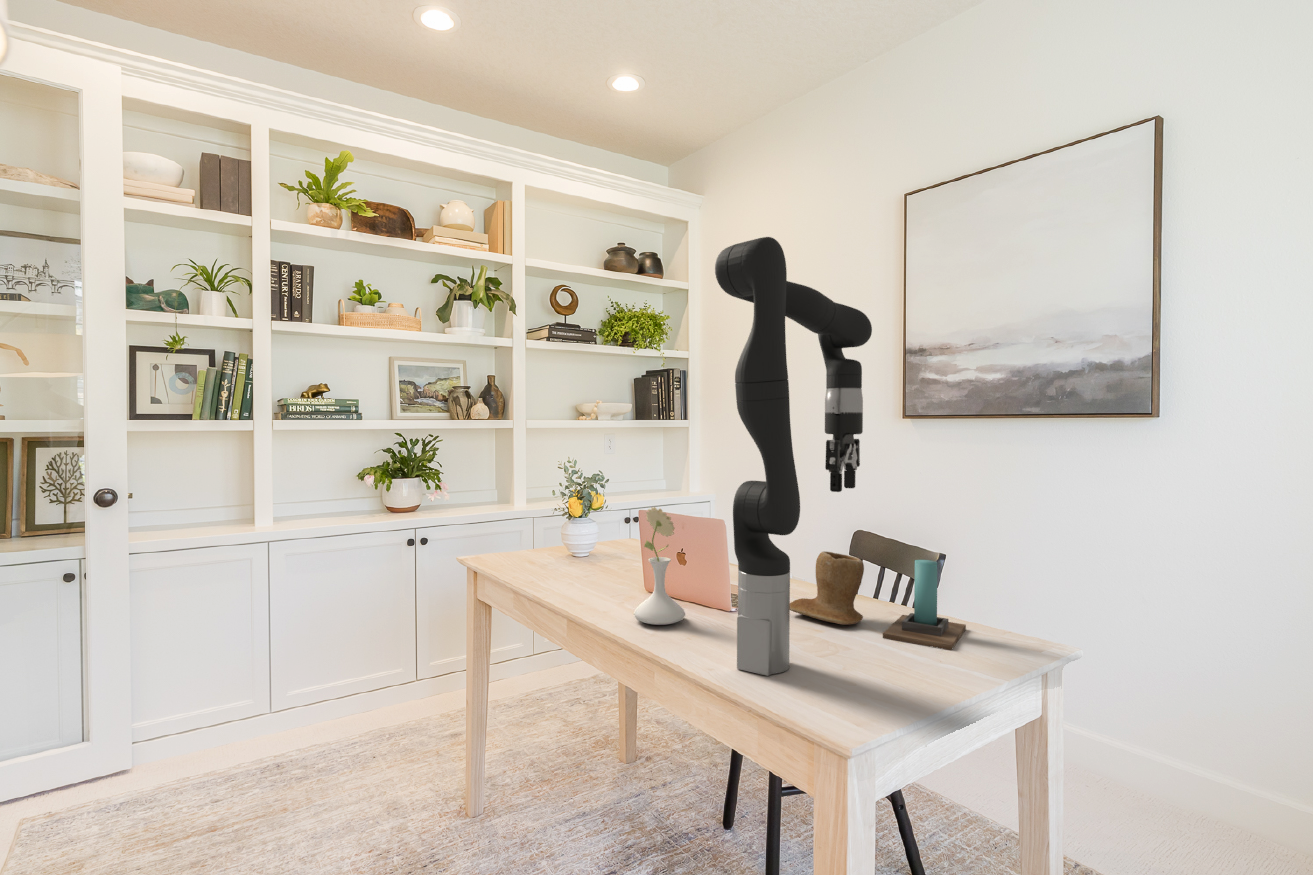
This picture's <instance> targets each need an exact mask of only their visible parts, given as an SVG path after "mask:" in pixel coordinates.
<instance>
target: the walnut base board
mask: <svg viewBox="0 0 1313 875" xmlns="http://www.w3.org/2000/svg"><path fill="white" fill-rule="evenodd" d="M966 628H967V624H965V623H958V622H952V621H949V618H945V617H940V616H937V626H933V625H927V624H921V623H914V612H910V613H909V614H901V615H900V616H899V617H898V618H897V619H896V620H895V621H894V622H893V623H892V624H891V625H890V626H889V627H888V628H886V629H885V630H884V631H883V632H882V639H886V640H891V641H896V642H897V641H898V642H903V643H909V644H914V645H920V646H925V647H930V646H933V647H932V648H936V647H938V648H937V649H941V648H943V650H948V651H952V650H953V649H954V647H955V646H956V644H957V643H958V641H959V640H960V638H961V637H962V636H963V635H964V632H965V631H966V630H967V629H966ZM952 648H953V649H952Z"/></svg>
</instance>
